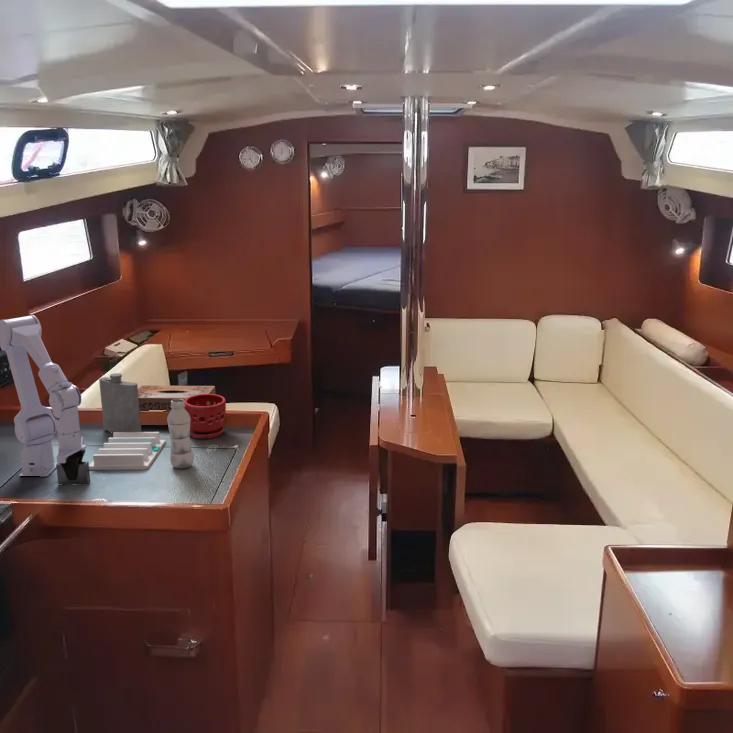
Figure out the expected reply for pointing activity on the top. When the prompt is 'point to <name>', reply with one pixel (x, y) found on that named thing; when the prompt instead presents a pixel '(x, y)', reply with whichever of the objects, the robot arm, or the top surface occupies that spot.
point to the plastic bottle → (180, 435)
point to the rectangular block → (82, 474)
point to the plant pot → (206, 415)
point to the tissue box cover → (168, 395)
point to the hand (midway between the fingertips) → (73, 477)
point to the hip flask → (119, 404)
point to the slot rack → (128, 451)
